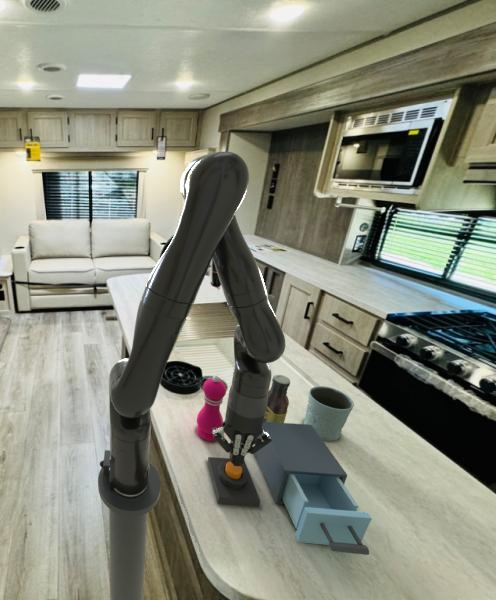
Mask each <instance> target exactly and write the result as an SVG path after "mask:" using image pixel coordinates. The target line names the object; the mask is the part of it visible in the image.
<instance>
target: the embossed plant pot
mask: <svg viewBox="0 0 496 600" xmlns="http://www.w3.org/2000/svg"><path fill="white" fill-rule="evenodd" d="M307 398H308V400H307V406H306V409H305V410H306V412H305V417H304V421H303V424H309V425H312V426H313V428H314V429H315V430H316V432H317V433H318V435H319V436H320V437H321V439H322V440H323V441H326V442H335V441H337V440H338V439H339V437H340V436H341V433H342V431H343V430H342V429H343V428H344V427H345V425H346V423H347V420H348V418H349V416H350V414H351V412H352V411H353V408H354V406H355V403H354V401H353V400H352V398H351V397H350V396H349V395H347V394H346V393H344V392H343V391H342V390H339V389H336V388H333V387H330V386H325V385H324V386H323V385H319V386H313V387H311V388H310V389H309V391H308V397H307Z"/></svg>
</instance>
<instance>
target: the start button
mask: <svg viewBox="0 0 496 600" xmlns="http://www.w3.org/2000/svg"><path fill="white" fill-rule="evenodd" d="M225 472H226V474H227V476H228V477H230V478H232V479H235V480H237V479H240V478H241V475H242V467H241V466H234V465H233V464H232V463H231V461H230V462H228V463H227V464H226V468H225Z"/></svg>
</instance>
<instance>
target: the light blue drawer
mask: <svg viewBox="0 0 496 600" xmlns="http://www.w3.org/2000/svg"><path fill="white" fill-rule="evenodd" d="M282 500H283V502H284V504H283V505H284V506H285V508H286V510H287V513H288V514H289V518H290V519H291V522H292V523H293V525H294V528H295V529H296V531H295V535H294V537H295V539H296V541H297V542H298V543H307V544H314V545H315V544H316V545H327V546H329V549H330V551H332V552H337V553H344V554H345V553H347V554H356V555H365V556H368V555H370V549H369V547H368V546H367V545H366V544H363V542H362V541H363V539H364V537H365V535H366V532H367V530H368V527H369V525H370V524H371V521H372V519H373V518H372V517H371V515H370V514H369V512H367V511H366V512H365V511H358V508H359V504H358V503H357V501H356V500H355V499H354V496H353V495H352V494H351V492H350V491H349V490H348V488H347V487H346V485H345V483H344V484H343V482H342V481H341V479H340V478H339V477H332V476H318V475H305V474H292V473H288V476H287V479H286V483H285V486H284V490H283V493H282Z"/></svg>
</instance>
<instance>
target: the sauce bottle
mask: <svg viewBox="0 0 496 600" xmlns="http://www.w3.org/2000/svg"><path fill="white" fill-rule="evenodd" d="M271 382H272V383H271V387H270V388H269V391H268V402H267V409H266V412H265V417H264V421H263V422H275V423H285V421H286V417H287V413H288V408H289V405H290V400H289V397H288V395H287V394H288V389H289V387H290V386H291V385H290V384H291V379H290V378H289V377H288V376H286V375H283V374H275V375H273V377H272V378H271Z"/></svg>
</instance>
